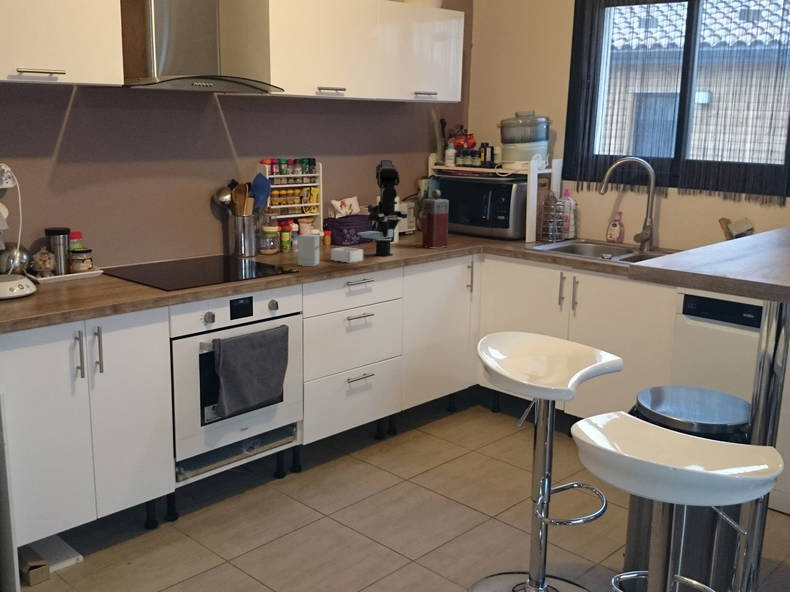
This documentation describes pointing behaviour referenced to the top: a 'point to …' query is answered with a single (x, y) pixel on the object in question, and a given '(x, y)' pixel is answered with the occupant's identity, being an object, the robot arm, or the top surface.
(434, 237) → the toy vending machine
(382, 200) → the robot arm
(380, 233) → the light blue tapered piece
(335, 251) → the tub
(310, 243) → the supplement box
